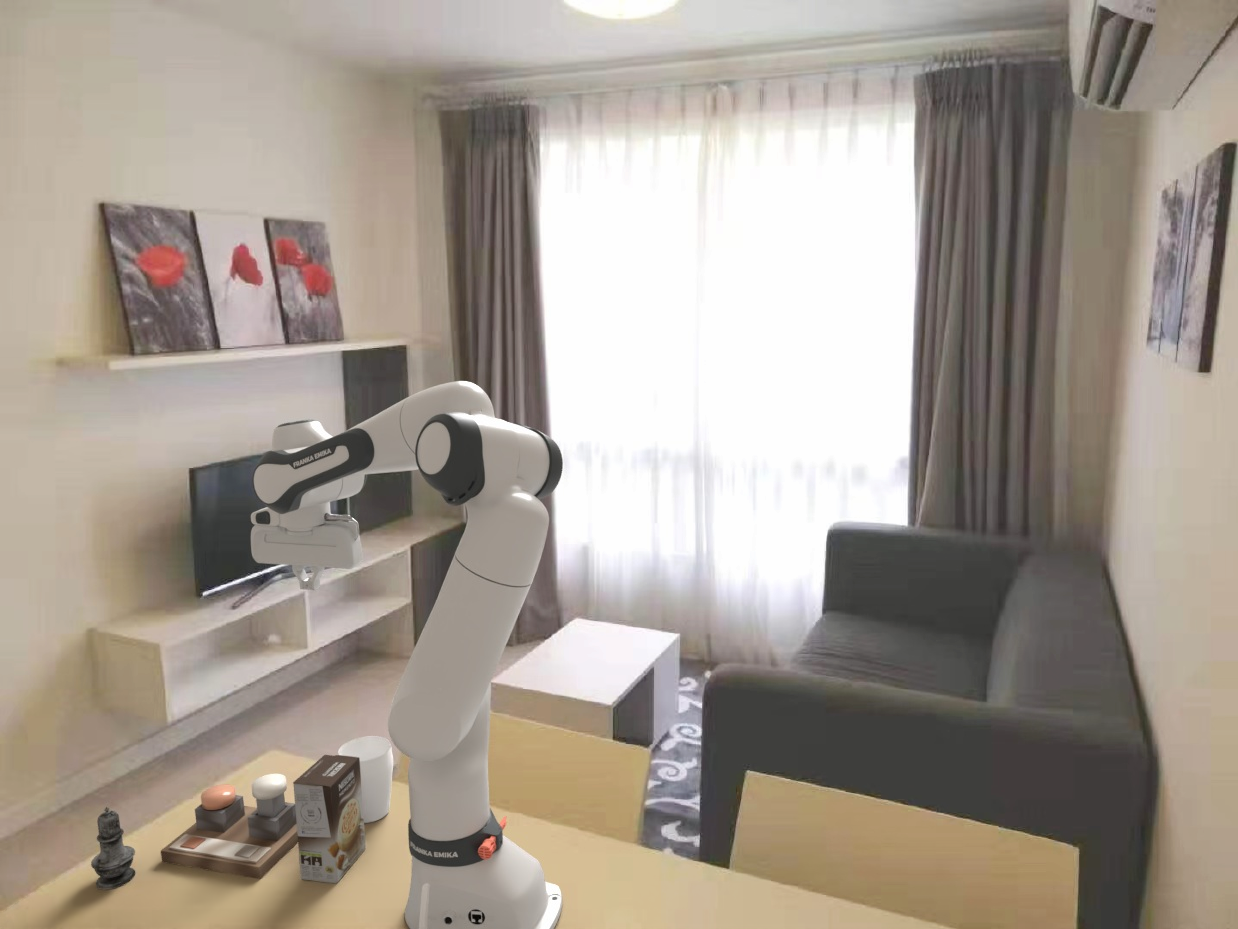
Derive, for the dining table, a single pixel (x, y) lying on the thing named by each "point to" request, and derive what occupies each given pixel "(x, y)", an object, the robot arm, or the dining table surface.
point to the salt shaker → (112, 853)
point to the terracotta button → (218, 797)
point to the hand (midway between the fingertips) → (310, 589)
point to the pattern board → (234, 840)
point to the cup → (373, 773)
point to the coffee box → (329, 818)
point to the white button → (269, 794)
